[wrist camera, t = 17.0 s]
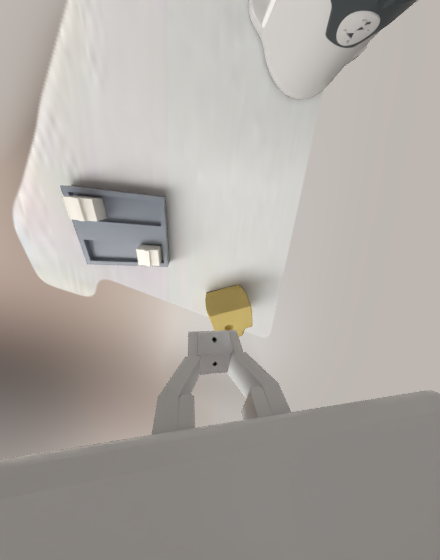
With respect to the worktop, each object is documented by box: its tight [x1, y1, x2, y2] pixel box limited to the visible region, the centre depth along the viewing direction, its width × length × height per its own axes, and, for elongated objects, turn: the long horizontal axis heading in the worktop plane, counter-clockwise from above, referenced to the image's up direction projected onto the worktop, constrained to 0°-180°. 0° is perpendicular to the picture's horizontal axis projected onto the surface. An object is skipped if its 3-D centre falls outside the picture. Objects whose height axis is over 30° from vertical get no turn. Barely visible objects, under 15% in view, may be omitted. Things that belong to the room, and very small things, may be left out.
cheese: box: [205, 285, 252, 337], centre depth 42 cm, size 10×11×10 cm
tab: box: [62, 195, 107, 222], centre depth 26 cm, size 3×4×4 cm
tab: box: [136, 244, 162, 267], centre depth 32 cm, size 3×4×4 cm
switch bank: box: [60, 186, 169, 267], centre depth 31 cm, size 14×16×3 cm
